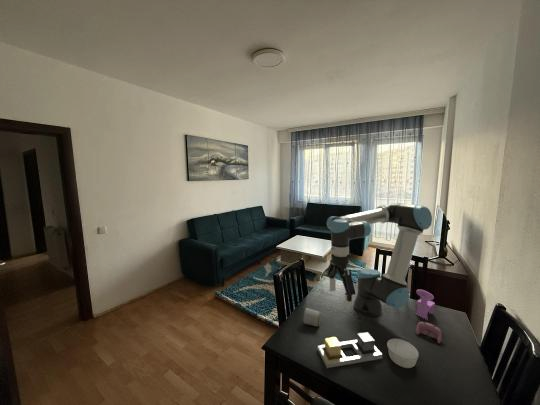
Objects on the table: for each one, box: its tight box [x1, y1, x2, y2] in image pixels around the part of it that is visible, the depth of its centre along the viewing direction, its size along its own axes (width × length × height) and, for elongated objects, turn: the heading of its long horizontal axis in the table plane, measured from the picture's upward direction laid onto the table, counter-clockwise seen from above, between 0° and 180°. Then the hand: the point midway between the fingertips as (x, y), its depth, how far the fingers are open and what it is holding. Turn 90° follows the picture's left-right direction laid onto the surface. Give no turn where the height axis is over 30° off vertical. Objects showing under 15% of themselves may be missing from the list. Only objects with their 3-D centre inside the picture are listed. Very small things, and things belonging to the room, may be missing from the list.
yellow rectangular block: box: [324, 336, 342, 360], centre depth 93 cm, size 5×5×7 cm
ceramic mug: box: [303, 307, 322, 327], centre depth 116 cm, size 11×8×8 cm
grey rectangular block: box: [356, 331, 376, 354], centre depth 96 cm, size 5×5×7 cm
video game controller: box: [415, 321, 442, 344], centre depth 105 cm, size 10×5×7 cm, turn 48°
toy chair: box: [414, 289, 436, 321], centre depth 121 cm, size 8×9×15 cm
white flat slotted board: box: [317, 339, 383, 369], centre depth 95 cm, size 25×10×2 cm, turn 100°
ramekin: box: [386, 338, 420, 369], centre depth 92 cm, size 11×11×5 cm
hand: (339, 298), depth 100 cm, fingers open, 13 cm apart
